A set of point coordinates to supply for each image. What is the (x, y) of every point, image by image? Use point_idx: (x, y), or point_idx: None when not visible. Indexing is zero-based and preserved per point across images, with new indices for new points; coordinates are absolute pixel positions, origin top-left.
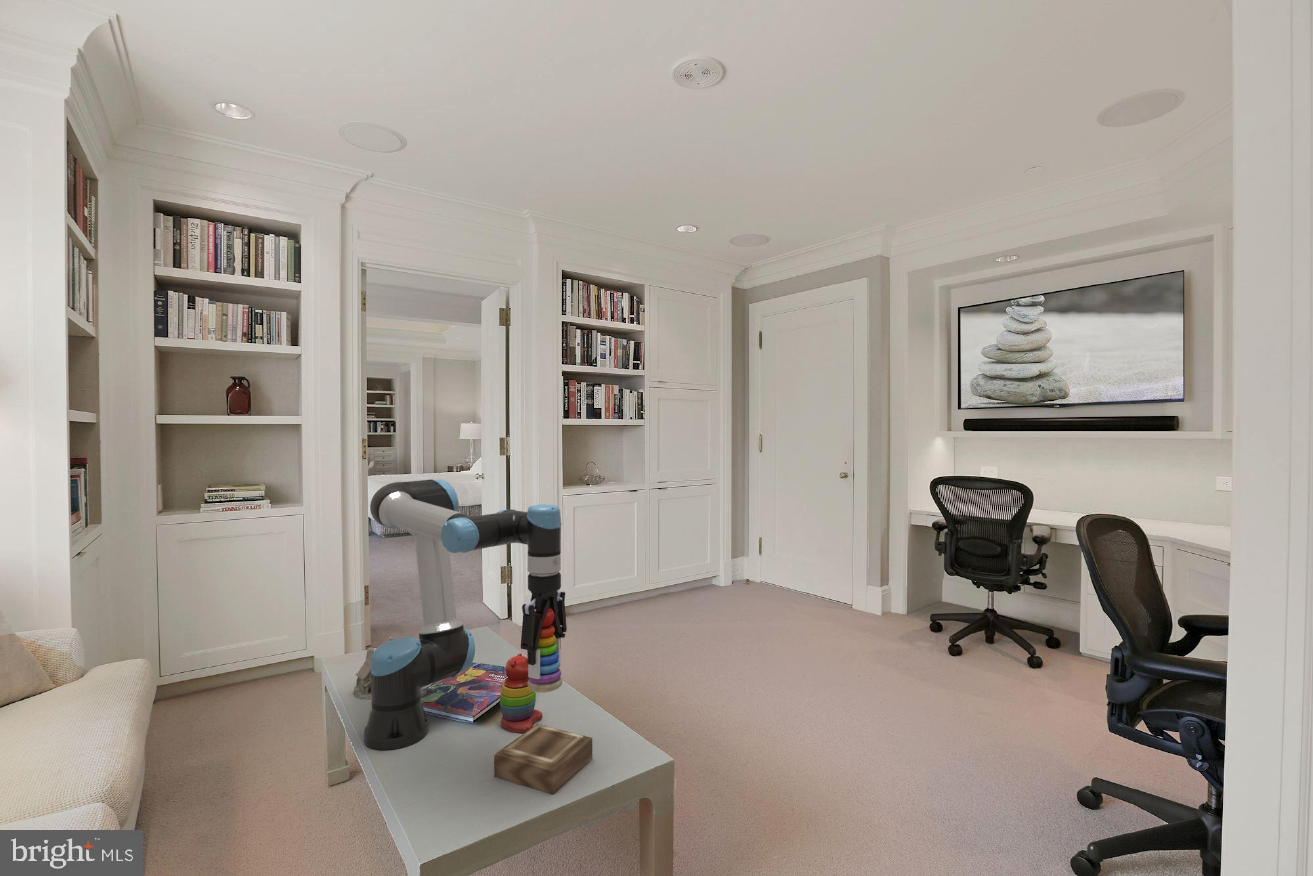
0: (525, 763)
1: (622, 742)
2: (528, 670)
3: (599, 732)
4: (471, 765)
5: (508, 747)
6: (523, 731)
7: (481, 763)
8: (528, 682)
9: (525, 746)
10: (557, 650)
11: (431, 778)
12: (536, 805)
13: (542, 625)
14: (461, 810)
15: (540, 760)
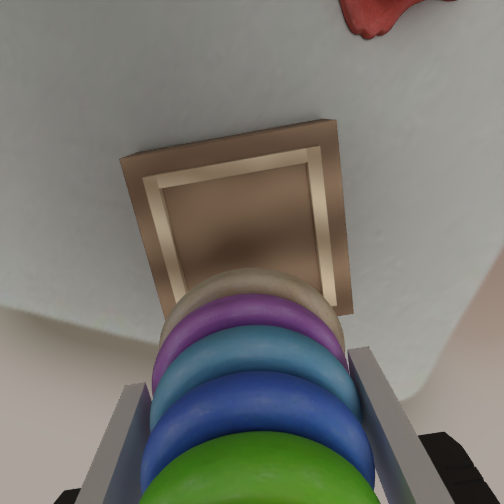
0: (150, 267)
1: (439, 296)
2: (112, 418)
3: (460, 218)
4: (126, 47)
5: (157, 181)
6: (349, 27)
7: (152, 64)
8: (172, 319)
9: (209, 201)
10: (391, 501)
11: (5, 3)
12: (132, 313)
13: None
14: (3, 202)
15: (175, 299)
